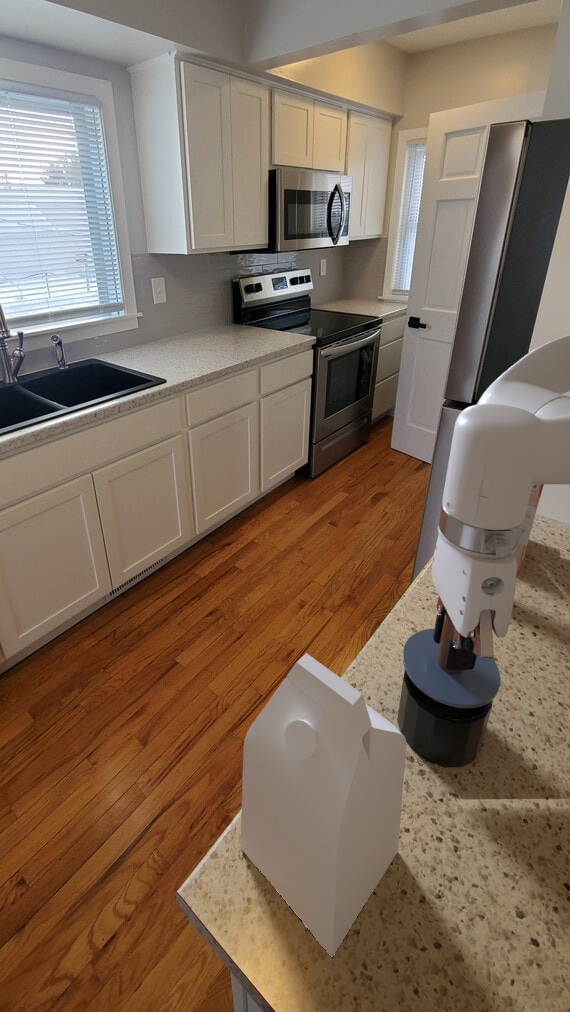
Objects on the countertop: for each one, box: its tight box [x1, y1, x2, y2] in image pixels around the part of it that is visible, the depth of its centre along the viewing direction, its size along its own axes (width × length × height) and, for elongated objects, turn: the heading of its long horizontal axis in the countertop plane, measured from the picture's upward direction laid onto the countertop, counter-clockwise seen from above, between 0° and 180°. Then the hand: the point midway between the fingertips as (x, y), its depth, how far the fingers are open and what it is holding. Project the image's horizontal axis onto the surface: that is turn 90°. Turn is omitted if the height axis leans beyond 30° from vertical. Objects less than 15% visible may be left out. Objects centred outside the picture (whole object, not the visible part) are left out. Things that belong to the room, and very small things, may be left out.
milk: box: [239, 652, 407, 958], centre depth 46 cm, size 12×12×26 cm
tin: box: [396, 669, 493, 769], centre depth 61 cm, size 10×10×8 cm
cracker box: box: [514, 484, 545, 576], centre depth 90 cm, size 14×6×21 cm, turn 148°
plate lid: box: [402, 613, 501, 709], centre depth 57 cm, size 11×11×8 cm
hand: (452, 653), depth 57 cm, fingers closed on plate lid, 3 cm apart
